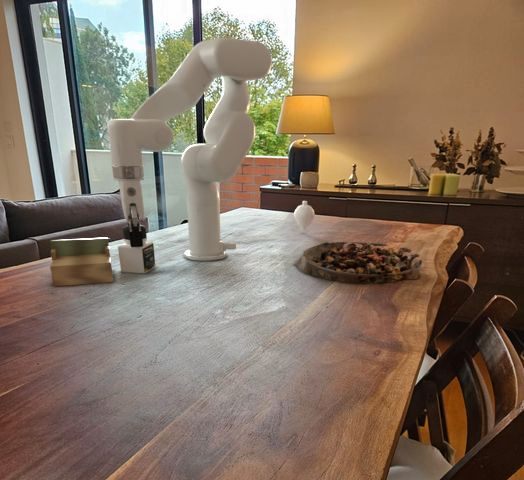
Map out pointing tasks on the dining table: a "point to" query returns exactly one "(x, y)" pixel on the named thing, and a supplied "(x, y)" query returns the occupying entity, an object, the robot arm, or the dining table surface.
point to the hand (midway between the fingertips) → (135, 243)
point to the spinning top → (304, 215)
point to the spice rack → (80, 261)
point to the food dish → (358, 263)
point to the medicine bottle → (136, 254)
